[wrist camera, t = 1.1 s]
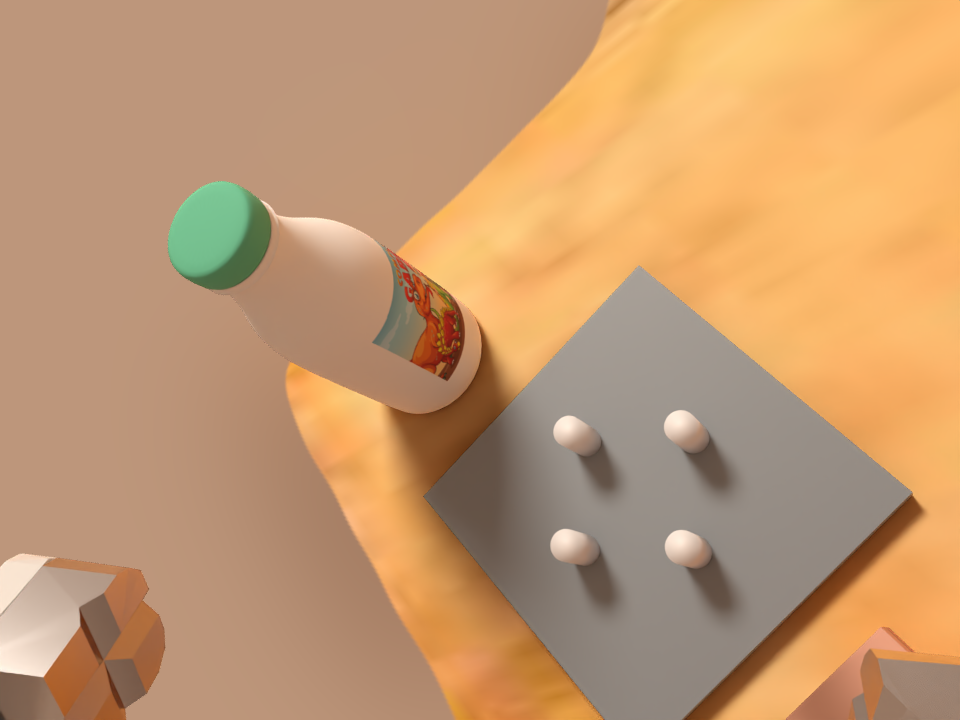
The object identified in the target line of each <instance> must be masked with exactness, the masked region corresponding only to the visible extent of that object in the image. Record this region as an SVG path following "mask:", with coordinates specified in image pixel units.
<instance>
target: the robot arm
mask: <svg viewBox="0 0 960 720" xmlns="http://www.w3.org/2000/svg"><path fill="white" fill-rule="evenodd" d="M148 590H149V588H148V586H147V583H146V581H145V579H144V577H143V575H142V573H141V570H138V569H132V568H126V567H119V566H112V565H105V564H98V563H90V562H84V561H77V560H70V559H62V558H54V557H46V556H38V555H30V554H22V553H21V554H19V555H17V556H15V557H13V558H11V559H9V560H7V561H5V563H4V564H3V565H2V566H1V567H0V720H126V712H125V708H126V707H128V706H129V705H131V704H132V703H134V702H135V701H137V700H138V699H140V698H141V697H142V696H144V695H145V694H147V692H148V690H149V688H150V687H151V685H152V683H153V681H154V680H155V678H156V676H157V674H158V673H159V669H160V665H161V662H162V658H163V654H164V650H165V635H164V627H163V624H162V622H161V619H160V616H159V614H157V613H156V612H155V611H154V610H153V609H152V608H151V607H149V606H148V605H147V604H146V603H145V602H144V601H143V599H144V597H145V595H146V594H147V592H148ZM860 676H861V681H862V687H863V693H862V694H860V695H858V696H857V697H855V698H853V699H852V702H851V707H850V711H849V716H848V720H960V657H954V656H944V655H934V654H924V653H913V652H903V651H893V650H883V649H873V648H870V649H869V650H868V651H867V653H866V654H865V655H864V658H863V662H862V665H861V669H860Z"/></svg>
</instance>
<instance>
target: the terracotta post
mask: <svg viewBox="0 0 960 720" xmlns="http://www.w3.org/2000/svg"><path fill="white" fill-rule="evenodd" d="M870 648H873V649H883V650H893V651H903V652H913V653H915V652H914V651H913V650H912V649H911V648H910V647H909V646H908V645H907V644H906V643H905V642H903V641H902V640H901V639H900V638H899V637H898V636H897V635H896V634H895V633H894V632H893V631H892V630H891V629H890V628H885V627H880V628H879V629H878V630H877V631H876V632H875V633H874V634H873V635H872V636H871V637H870V638H869V639H868V640H867V641H866V642H865V643H864V644H863V645H862V646H861V647H860V648H859V649H858V650H857V651H856V652H855V653H853V654H852V655H851V656H850V657H849V658H848V659H847V660H846V661H845V662H844V663H843V664H842V665H841V666H840V667H839V668H838V669H837V670H836V671H835V672H834V673H833V674H832V675H831V676H830V677H829V678H828V679H827V680H826V681H825V682H823V683H822V684H821V685H820V686H819V687H818V688H817V689H816V690H815V691H814V692H813V693H812V694H811V695H810V696H809V697H808V698H807V699H806V700H805V701H804V702H803V703H802V704H801V705H800V706H799V707H798V708H797V709H796V710H795V711H794V712H792V713H791V714H790V715H789V716H788V717H787V718H786V720H848V716H849V711H850V707H851V702H852V699H853V698H855V697H857V696H858V695H860V694H862V693H863V687H862V681H861V676H860V669H861V665H862V662H863V658H864V655H865V654H866V653H867V651H868V650H869V649H870Z"/></svg>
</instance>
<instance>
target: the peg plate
mask: <svg viewBox="0 0 960 720" xmlns="http://www.w3.org/2000/svg"><path fill="white" fill-rule="evenodd" d="M911 496H912V492H911V491H910V490H909V489H908V488H907V487H905V486H904V485H903V484H902V483H901V482H899V481H898V480H897V479H896V478H895V477H893V476H892V475H891V474H890V473H889V472H887V471H886V470H885V469H884V468H882V467H881V466H880V465H879V464H878V463H876V462H875V461H874V460H873V459H872V458H870V457H869V456H868V455H867V454H866V453H864V452H863V451H862V450H861V449H860V448H858V447H857V446H856V445H855V444H854V443H852V442H851V441H850V440H849V439H848V438H846V437H845V436H844V435H843V434H842V433H840V432H839V431H838V430H837V429H836V428H834V427H833V426H832V425H831V424H829V423H828V422H827V421H826V420H825V419H823V418H822V417H821V416H820V415H819V414H817V413H816V412H815V411H814V410H813V409H811V408H810V407H809V406H808V405H807V404H805V403H804V402H803V401H802V400H801V399H799V398H798V397H797V396H796V395H795V394H793V393H792V392H791V391H790V390H789V389H787V388H786V387H785V386H784V385H782V384H781V383H780V382H779V381H778V380H776V379H775V378H774V377H773V376H772V375H770V374H769V373H768V372H767V371H766V370H764V369H763V368H762V367H761V366H760V365H758V364H757V363H756V362H755V361H754V360H752V359H751V358H750V357H749V356H748V355H746V354H745V353H744V352H743V351H742V350H740V349H739V348H738V347H737V346H735V345H734V344H733V343H732V342H731V341H729V340H728V339H727V338H726V337H725V336H723V335H722V334H721V333H720V332H719V331H717V330H716V329H715V328H714V327H713V326H711V325H710V324H709V323H708V322H707V321H705V320H704V319H703V318H702V317H701V316H699V315H698V314H697V313H696V312H695V311H693V310H692V309H691V308H690V307H688V306H687V305H686V304H685V303H684V302H682V301H681V300H680V299H679V298H678V297H676V296H675V295H674V294H673V293H672V292H670V291H669V290H668V289H667V288H666V287H664V286H663V285H662V284H661V283H660V282H658V281H657V280H656V279H655V278H654V277H652V276H651V275H650V274H649V273H648V272H646V271H645V270H644V269H643V268H641V267H640V266H638V267H637V268H636V269H635V270H634V271H633V272H632V273H631V274H630V275H629V277H628V278H627V279H626V280H625V281H624V282H623V283H622V284H621V285H620V286H619V287H618V288H617V289H616V291H615V292H614V293H613V294H612V295H611V296H610V297H609V298H608V299H607V300H606V301H605V302H604V303H603V304H602V306H601V307H600V308H599V309H598V310H597V311H596V312H595V313H594V314H593V315H592V316H591V317H590V318H589V319H588V321H587V322H586V323H585V324H584V325H583V326H582V327H581V328H580V329H579V330H578V331H577V332H576V333H575V334H574V336H573V337H572V338H571V339H570V340H569V341H568V342H567V343H566V344H565V345H564V346H563V347H562V348H561V349H560V351H559V352H558V353H557V354H556V355H555V356H554V357H553V358H552V359H551V360H550V361H549V362H548V363H547V364H546V366H545V367H544V368H543V369H542V370H541V371H540V372H539V373H538V374H537V375H536V376H535V377H534V378H533V379H532V381H531V382H530V383H529V384H528V385H527V386H526V387H525V388H524V389H523V390H522V391H521V392H520V393H519V394H518V396H517V397H516V398H515V399H514V400H513V401H512V402H511V403H510V404H509V405H508V406H507V407H506V408H505V409H504V411H503V412H502V413H501V414H500V415H499V416H498V417H497V418H496V419H495V420H494V421H493V422H492V423H491V424H490V426H489V427H488V428H487V429H486V430H485V431H484V432H483V433H482V434H481V435H480V436H479V437H478V438H477V439H476V441H475V442H474V443H473V444H472V445H471V446H470V447H469V448H468V449H467V450H466V451H465V452H464V453H463V454H462V456H461V457H460V458H459V459H458V460H457V461H456V462H455V463H454V464H453V465H452V466H451V467H450V468H449V469H448V471H447V472H446V473H445V474H444V475H443V476H442V477H441V478H440V479H439V480H438V481H437V482H436V483H435V485H434V486H433V487H432V488H431V489H430V490H429V491H428V492H427V493H426V494H425V495H424V496H423V497H424V498H425V499H426V500H427V502H428V503H429V504H430V505H431V506H432V508H433V509H434V510H435V511H436V513H437V514H438V515H439V516H440V518H441V519H442V520H443V521H444V522H445V524H446V525H447V526H448V527H449V529H450V530H451V531H452V532H453V534H454V535H455V536H456V537H457V538H458V540H459V541H460V542H461V543H462V545H463V546H464V547H465V548H466V550H467V551H468V552H469V553H470V554H471V556H472V557H473V558H474V559H475V561H476V562H477V563H478V564H479V566H480V567H481V568H482V569H483V570H484V572H485V573H486V574H487V575H488V577H489V578H490V579H491V580H492V582H493V583H494V584H495V585H496V586H497V588H498V589H499V590H500V591H501V593H502V594H503V595H504V596H505V598H506V599H507V600H508V601H509V602H510V604H511V605H512V606H513V607H514V609H515V610H516V611H517V612H518V614H519V615H520V616H521V617H522V618H523V620H524V621H525V622H526V623H527V625H528V626H529V627H530V628H531V630H532V631H533V632H534V633H535V634H536V636H537V637H538V638H539V639H540V641H541V642H542V643H543V644H544V646H545V647H546V648H547V649H548V650H549V652H550V653H551V654H552V655H553V657H554V658H555V659H556V660H557V662H558V663H559V664H560V665H561V666H562V668H563V669H564V670H565V671H566V673H567V674H568V675H569V676H570V678H571V679H572V680H573V681H574V682H575V684H576V685H577V686H578V687H579V689H580V690H581V691H582V692H583V694H584V695H585V696H586V697H587V698H588V700H589V701H590V702H591V703H592V705H593V706H594V707H595V708H596V710H597V711H598V712H599V713H600V714H601V716H602V717H603V718H604V719H605V720H685V719H686V718H687V717H688V716H689V715H690V714H691V713H692V712H693V711H694V710H695V709H696V708H697V707H698V706H699V705H700V704H701V703H702V702H703V701H704V700H705V699H706V698H707V697H708V696H709V695H710V694H711V693H712V692H713V691H714V690H715V689H716V688H717V687H718V686H719V685H720V684H721V683H722V682H723V681H724V680H725V679H726V678H727V677H728V676H729V675H730V674H731V673H732V672H733V671H734V670H735V669H736V668H737V667H738V666H740V665H741V664H742V663H743V662H744V661H745V660H746V659H747V658H748V657H749V656H750V655H751V654H752V653H753V652H754V651H755V650H756V649H757V648H758V647H759V646H760V645H761V644H762V643H763V642H764V641H765V640H766V639H767V638H768V637H769V636H770V635H771V634H772V633H773V632H774V631H775V630H776V629H777V628H778V627H779V626H780V625H781V624H782V623H783V622H784V621H785V620H786V619H787V618H788V617H789V616H790V615H791V614H792V613H793V612H794V611H795V610H796V609H797V608H798V607H799V606H800V605H801V604H803V603H804V602H805V601H806V600H807V599H808V598H809V597H810V596H811V595H812V594H813V593H814V592H815V591H816V590H817V589H818V588H819V587H820V586H821V585H822V584H823V583H824V582H825V581H826V580H827V579H828V578H829V577H830V576H831V575H832V574H833V573H834V572H835V571H836V570H837V569H838V568H839V567H840V566H841V565H842V564H843V563H844V562H845V561H846V560H847V559H848V558H849V557H850V556H851V555H852V554H853V553H854V552H855V551H856V550H857V549H858V548H859V547H860V546H861V545H862V544H863V543H864V542H865V541H867V540H868V539H869V538H870V537H871V536H872V535H873V534H874V533H875V532H876V531H877V530H878V529H879V528H880V527H881V526H882V525H883V524H884V523H885V522H886V521H887V520H888V519H889V518H890V517H891V516H892V515H893V514H894V513H895V512H896V511H897V510H898V509H899V508H900V507H901V506H902V505H903V504H904V503H905V502H906V501H907V500H908V499H909V498H910V497H911Z"/></svg>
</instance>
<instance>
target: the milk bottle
mask: <svg viewBox="0 0 960 720" xmlns="http://www.w3.org/2000/svg"><path fill="white" fill-rule="evenodd" d="M168 253H169V257H170V260H171V263H172V265H173V266H174V268H175V269H176V270H177V271H178V272H179V273H180V274H181V275H182V276H183V277H185V278H186V279H188V280H190V281H191V282H193V283H195V284H197V285H200V286H202V287H205V288H207V289H209V290H211V291H212V292H214V293H216V294H221V295H230V296H231V297H232V298H233V299H234V300H235V301H236V302H237V303H238V305H239V306H240V308H241V309H242V311H243V313H244V315H245V316H246V318H247V320H248V322H249V323H250V325H251V326H252V328H253V329H254V331H255V332H256V333H257V334H258V336H259V337H260V338H261V339H262V340H263V341H264V342H265V343H266V344H268V346H269V347H270V348H272V349H273V350H274V351H275V352H277V353H278V354H280V355H281V356H283V357H284V358H285V359H287V360H288V361H290V362H292V363H294V364H296V365H298V366H300V367H302V368H304V369H306V370H308V371H310V372H312V373H314V374H317V375H319V376H321V377H323V378H326V379H328V380H330V381H332V382H334V383H337V384H339V385H341V386H343V387H346V388H348V389H350V390H353V391H355V392H357V393H360V394H362V395H364V396H367V397H369V398H371V399H374V400H376V401H378V402H381V403H383V404H385V405H388V406H390V407H393V408H395V409H398V410H401V411H404V412H407V413H413V414H423V413H430V412H433V411H436V410H439V409H441V408H443V407H445V406H447V405H449V404H451V403H452V402H453V401H455V400H456V399H457V398H459V397H460V396H461V395H462V393H463V392H464V391H465V390H466V389H467V388H468V387H469V385H470V383H471V382H472V380H473V379H474V377H475V374H476V372H477V370H478V367H479V363H480V359H481V348H482V343H481V334H480V330H479V326H478V324H477V321H476V319H475V317H474V315H473V314H472V313H471V311H470V310H469V309H468V308H467V307H466V306H465V305H464V304H463V303H462V302H461V301H459V300H458V299H457V298H456V297H454V296H453V295H452V294H450V293H449V292H447V291H446V290H445V289H443V288H442V287H441V286H439V285H438V284H437V283H435V282H434V281H432V280H431V279H430V278H428V277H427V276H426V275H424V274H423V273H421V272H420V271H419V270H417V269H416V268H414V267H413V266H412V265H410V264H409V263H407V262H406V261H405V260H403V259H402V258H400V257H399V256H397V255H396V254H395V253H393V252H392V251H390V250H389V249H388V248H386V247H385V246H383V245H382V244H380V243H379V242H377V241H376V240H374V239H372V238H371V237H369V236H368V235H366V234H365V233H363V232H361V231H359V230H357V229H355V228H353V227H350V226H348V225H346V224H342V223H340V222H336V221H333V220H328V219H321V218H289V217H282V216H278V215H276V214H275V212H274V210H273V209H272V208H271V207H270V206H269V205H268V204H267V203H266V202H264V201H262V200H259V198H257V197H256V196H254V195H253V194H252V193H250V192H249V191H248V190H246V189H244V188H242V187H240V186H239V185H237V184H234V183H230V182H225V181H218V182H213V183H210V184H207V185H205V186H203V187H201V188H199V189H198V190H197V191H195V192H194V193H193V194H192V195H190V197H188V198H187V199H186V201H185V202H184V203H183V204H182V206H181V207H180V208H179V210H178V212H177V213H176V215H175V217H174V220H173V222H172V225H171V228H170V232H169V237H168Z"/></svg>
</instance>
